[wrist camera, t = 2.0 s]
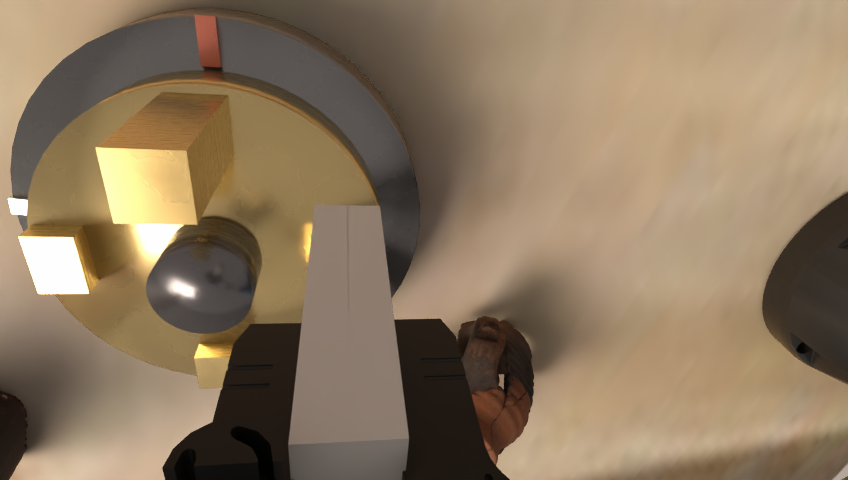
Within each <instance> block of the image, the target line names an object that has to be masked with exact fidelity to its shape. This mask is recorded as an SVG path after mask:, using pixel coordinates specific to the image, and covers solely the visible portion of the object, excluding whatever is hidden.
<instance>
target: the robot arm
mask: <svg viewBox="0 0 848 480" xmlns="http://www.w3.org/2000/svg"><path fill="white" fill-rule="evenodd" d="M762 309H763V317H764V321H765V324H766V326H767V328H768V330H769V331H770V333H771V334H772V335H773V336H774V337H775V338H776V339H777V340H778V341H779V342H780V343H781V344H782V345H783V346H784V347H785V348H786V349H787V350H788V351H789V352H791V353H792V354H793V355H794V356H795V357H796V358H798V359H799V360H800V361H802V362H803V363H805V364H807V365H809V366H811V367H813V368H815V369H817V370H819V371H821V372H823V373H825V374H827V375H829V376H831V377H833V378H835V379H837V380H839V381H841V382H843V383H845V384H848V194H846V195H845V196H843V197H841V198H840V199H838V200H837V201H835V202H834V203H832V204H831V205H829V206H828V207H827V208H825V209H824V210H823V211H821V212H820V213H819V214H818V215H817V216H815V217H814V218H813V219H812V220H811V221H810V222H809V223H808V224H807V225H805V226H804V227H803V228H802V229H801V230H800V232H799V233H798V234H797V235H796V236H795V237H794V238H793V239H792V240H791V242H790V243H789V244H788V245H787V247H786V248H785V249H784V251H783V252H782V254H781V255H780V257H779V258H778V260H777V262H776V263H775V265H774V267H773V269H772V271H771V273H770V275H769V278H768V280H767V283H766V287H765V290H764V295H763V303H762ZM163 472H164V476H165V480H510V479H509V478H507V477H506V476H505V475H504V474H503V473H502V472H501V471H500V470H499V469H498V468H497V467H496V465H495V464H494V462H493V461H492V460H491V458H490V456H489V454H488V451H487V449H486V446H485V443H484V439H483V435H482V432H481V428H480V424H479V421H478V417H477V413H476V410H475V406H474V402H473V399H472V395H471V391H470V388H469V384H468V380H467V379H466V373H465V369H464V365H463V362H461V354H460V351H459V347H458V343H457V340H456V336H455V335H454V334H453V333H452V332H451V331H450V329H449V328H448V327H447V326H446V325H445V324H444V323H443V321H442V320H441V319H404V320H394V314H393V306H392V299H391V291H390V283H389V275H388V267H387V259H386V251H385V243H384V235H383V227H382V219H381V211H380V206H362V205H315V206H314V215H313V224H312V234H311V243H310V252H309V261H308V270H307V279H306V288H305V297H304V306H303V315H302V323H272V324H250V325H249V326H248V327H247V329H246V330H245V331H244V332H243V333H242V334H241V335H240V337H239V338H238V339H237V340H236V341H235V342H234V344H233V348H232V351H231V355H230V359H229V363H228V370H226V374H225V377H224V381H223V388H222V390H221V392H220V396H219V400H218V404H217V407H216V411H215V415H214V418H213V422H212V423H210V424H208V425H206V426H204V427H202V428H200V429H198V430H196V431H194V432H191V433H190V434H189V435H188V436H187V437H186V438H185V439H183V440H182V441H181V442H180V443H179V444H178V445H177V446H176V447H175V448H173V450H172V452H171V454H170V455H169V457H168V459H167V461H166V462H165V464H164V466H163ZM842 480H848V476H847V477H846V478H844V479H842Z"/></svg>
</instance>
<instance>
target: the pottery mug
mask: <svg viewBox="0 0 848 480" xmlns="http://www.w3.org/2000/svg"><path fill="white" fill-rule="evenodd" d="M457 343H458V347H459V351H460V354H461V362H463V365H464V369H465V373H466V379H467V380H468V384H469V388H470V391H471V395H472V399H473V402H474V406H475V410H476V413H477V417H478V421H479V424H480V428H481V432H482V435H483V439H484V443H485V446H486V449H487V451H488V454H489V456H490V458H491V460H492V461H493V462H494V464H495V465H496V463H497V460H498V455H499V454H501V453H502V451H503V450H504V448H505V447H507V446H508V445H509V444H511V443H513V442H514V441H515V440H516V439H517V438H518V437H519V436H520V435H521V434H522V432H523V430H524V427H525V426H526V424H527V422H528V414H529V412H530V408H531V406H532V402H533V399H532V397H533V393H534V390H533V386H534V382H533V379H534V374H533V369H532V363H531V358H532V354H531V350H530V347H529V344H528V343H527V341H526V340H525V338H524V337H523V336H522V334H521V333H520V332H519V331H518V330H516V329H514V328H513V327H512V326H511V325H509V324H508V323H506V322H504V321H500V322H499V321H498V320H497V319H496V318H491V317H487V316H483V317H481V318H478V319H477V320H476V321H470V322H466V323H463V324H462V325H461V329H460V330H459V332H458V339H457ZM498 374H504V390H503V389H502V388H501V387H500V386H498V384H499V375H498Z"/></svg>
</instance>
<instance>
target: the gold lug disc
mask: <svg viewBox="0 0 848 480" xmlns="http://www.w3.org/2000/svg"><path fill="white" fill-rule="evenodd" d="M315 205H362V206H380V204H379V198H378V193H377V190H376V187H375V184H374V181H373V178H372V176H371V174H370V171H369V169H368V167H367V165H366V163H365V161H364V159H363V158H362V156H361V155H360V153H359V152H358V150H357V149H356V147H355V146H354V144H353V143H352V142H351V141H350V139H349V138H348V137H347V136H346V135H345V134H344V133H343V131H342V130H341V129H340V128H339V127H338V126H337V125H336V124H335V123H334V122H333V121H331V120H330V119H329V118H328V117H327V116H326V115H325V114H324V113H322V112H321V111H320V110H318V109H317V108H315V107H314V106H312V105H311V104H310V103H308V102H307V101H305V100H304V99H302V98H300V97H298V96H297V95H295V94H293V93H291V92H289V91H287V90H285V89H283V88H281V87H279V86H276V85H273V84H271V83H268V82H265V81H263V80H260V79H257V78H253V77H249V76H245V75H241V74H237V73H230V72H222V71H213V70H185V71H178V72H170V73H163V74H159V75H156V76H152V77H149V78H145V79H142V80H139V81H137V82H135V83H132V84H130V85H128V86H126V87H124V88H121V89H119V90H118V91H116V92H115V93H113V94H112V95H110V96H109V97H107V98H106V99H104V100H103V101H101V102H100V103H98V104H97V105H95V106H94V107H92V108H91V109H89V110H88V111H86V112H85V113H83V114H82V115H80V116H79V117H77V118H76V119H74V120H73V121H72V122H71V123H70V124H69V125H68V126H66V127H65V128H64V129H63V130H62V131H61V132H60V133H59V134H58V135H57V136H56V137H55V138H54V140H53V141H52V143H51V144H50V145H49V147H48V148H47V149H46V151H45V152H44V153H43V155H42V157H41V159H40V161H39V163H38V165H37V167H36V169H35V171H34V174H33V178H32V181H31V185H30V188H29V192H28V202H27V225H28V228H27V229H26V230H25V231H24V232H23V233H22V234H21V235H20V236H19V240H20V243H21V246H22V249H23V251H24V254H25V257H26V260H27V263H28V266H29V269H30V272H31V274H32V277H33V280H34V283H35V286H36V289H37V292H38V294H55V295H56V296H57V297H58V299H59V300H60V301H61V303H62V304H63V305H64V306H65V308H66V309H67V310H68V311H69V312H70V313H71V314H72V315H73V316H74V317H75V318H76V319H77V320H78V321H79V322H80V323H82V324H83V325H84V326H85V327H87V328H88V329H89V330H90V331H92V332H93V333H94V334H95V335H97V336H98V337H100V338H101V339H103V340H104V341H106V342H107V343H109V344H111V345H112V346H114V347H115V348H117V349H119V350H121V351H123V352H125V353H127V354H129V355H131V356H133V357H135V358H137V359H140V360H142V361H145V362H147V363H150V364H152V365H155V366H159V367H162V368H166V369H169V370H172V371H177V372H182V373H187V374H191V375H197V377H198V383H199V388H223V381H224V377H225V374H226V370H228V363H229V359H230V355H231V351H232V348H233V344H234V342H235V341H236V340H237V339H238V338H239V337H240V335H241V334H242V333H243V332H244V331H245V330H246V329H247V327H248V326H249V325H250V324H272V323H302V315H303V306H304V297H305V288H306V279H307V270H308V261H309V252H310V243H311V234H312V224H313V215H314V206H315ZM380 211H381V209H380ZM201 219H218V220H223V221H226V222H230V223H232V224H234V225H236V226H238V227H240V228H242V229H243V230H244V231H246V232H247V233H248V234H249V235H250V236H251V237H252V238H253V239H254V240H255V242H256V243H257V245H258V247H259V249H260V252H261V256H262V267H261V271H260V275H259V279H258V283H257V286H256V290H255V294H254V298H253V302H252V305H251V308H250V311H249V313H248V314H247V316H246V317H245V318H244V319H243V320H242V321H241V322H240V323H239V324H238V325H236V326H234V327H233V328H231V329H228V330H226V331H222V332H218V333H212V334H199V333H192V332H188V331H184V330H181V329H179V328H176V327H174V326H172V325H171V324H169V323H167V322H166V321H164V320H163V319H162V318H161V317H160V316H159V315H158V314H157V313H156V312H155V311H154V310H153V308H152V307H151V305H150V303H149V301H148V298H147V294H146V283H147V279H148V276H149V274H150V272H151V270H152V269H153V267H154V265H155V264H156V262H157V260H158V259H159V257H160V255H161V253H162V252H163V250H164V248H165V247H166V245H167V243H168V242H169V240H170V238H171V237H172V235H173V234H174V233H175V232H176V231H177V230H178V229H179V228H180V227H182V226H183V225H185V224H186V225H198V223H199V221H200V220H201ZM381 219H382V217H381ZM382 227H383V226H382Z"/></svg>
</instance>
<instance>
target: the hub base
mask: <svg viewBox="0 0 848 480" xmlns="http://www.w3.org/2000/svg"><path fill="white" fill-rule="evenodd" d="M185 70H213V71H222V72H230V73H237V74H241V75H245V76H249V77H253V78H257V79H260V80H263V81H265V82H268V83H271V84H273V85H276V86H279V87H281V88H283V89H285V90H287V91H289V92H291V93H293V94H295V95H297V96H298V97H300V98H302V99H304V100H305V101H307V102H308V103H310V104H311V105H312V106H314V107H315V108H317V109H318V110H320V111H321V112H322V113H324V114H325V115H326V116H327V117H328V118H329V119H330V120H331V121H333V122H334V123H335V124H336V125H337V126H338V127H339V128H340V129H341V130H342V131H343V133H344V134H345V135H346V136H347V137H348V138H349V139H350V141H351V142H352V143H353V144H354V146H355V147H356V149H357V150H358V152H359V153H360V155H361V156H362V158H363V159H364V161H365V163H366V165H367V167H368V169H369V171H370V174H371V176H372V178H373V181H374V184H375V187H376V190H377V193H378V198H379V204H380V209H381V217H382V226H383V235H384V243H385V251H386V259H387V267H388V275H389V283H390V291H391V298H392V297H393V295H394V294H395V292H396V291H397V289H398V288H399V286H400V285H401V283H402V281H403V279H404V277H405V275H406V273H407V271H408V269H409V267H410V264H411V261H412V258H413V254H414V251H415V248H416V244H417V237H418V231H419V215H420V204H419V196H418V189H417V182H416V178H415V174H414V171H413V167H412V163H411V160H410V156H409V152H408V149H407V145H406V142H405V139H404V136H403V134H402V132H401V130H400V127H399V125H398V123H397V120H396V118H395V117H394V115H393V113H392V112H391V110H390V108H389V107H388V105H387V103H386V102H385V100H384V98H383V97H382V96H381V95H380V93H379V92H378V91H377V90H376V88H375V87H374V86H373V85H372V83H371V82H370V81H369V80H368V79H367V78H366V77H365V76H364V75H363V74H362V73H361V72H360V71H359V70H358V69H357V68H356V67H355V66H354V65H353V64H352V63H351V62H350V61H349V60H347V59H346V58H345V57H343V56H342V55H341V54H339V53H338V52H337V51H335V50H334V49H333V48H331V47H330V46H329V45H327V44H326V43H324V42H322V41H320V40H319V39H317V38H315V37H313V36H312V35H310V34H308V33H306V32H305V31H302V30H300V29H298V28H295V27H293V26H290V25H288V24H286V23H283V22H281V21H278V20H275V19H271V18H268V17H264V16H260V15H257V14H253V13H249V12H242V11H235V10H227V9H187V10H180V11H172V12H165V13H162V14H158V15H155V16H152V17H148V18H145V19H141V20H138V21H136V22H133V23H131V24H128V25H126V26H124V27H121V28H119V29H116V30H114V31H112V32H110V33H107V34H105V35H103V36H101V37H99V38H97V39H95V40H92V41H90V42H88V43H86V44H85V45H83V46H82V47H81V48H79V49H78V50H76V51H75V52H73V53H72V54H70V55H69V56H67V57H66V58H65V59H63V60H62V61H61V62H60V63H59V64H58V65H57V66H56V67H55V68H54V69H53V70H52V71H51V72H50V73H49V74H48V75H47V76H46V77H45V78H44V79H43V81H42V82H41V84H40V85H39V86H38V88H37V89H36V91H35V92H34V94H33V95H32V96H31V98H30V99H29V101H28V103H27V105H26V108H25V110H24V112H23V114H22V116H21V119H20V121H19V123H18V127H17V131H16V135H15V139H14V143H13V147H12V159H11V181H12V192H13V197H11V196H10V197H9V198H8V201H9V205H10V210H11V214H18V218H19V221H20V224H21V226H22V228H23V231H25V230H26V229H27V228H28V225H27V202H28V192H29V188H30V185H31V181H32V178H33V174H34V171H35V169H36V167H37V165H38V163H39V161H40V159H41V157H42V155H43V153H44V152H45V151H46V149H47V148H48V147H49V145H50V144H51V143H52V141H53V140H54V138H55V137H56V136H57V135H58V134H59V133H60V132H61V131H62V130H63V129H64V128H65V127H66V126H68V125H69V124H70V123H71V122H72V121H73V120H74V119H76V118H77V117H79V116H80V115H82V114H83V113H85V112H86V111H88V110H89V109H91V108H92V107H94V106H95V105H97V104H98V103H100V102H101V101H103V100H104V99H106V98H107V97H109V96H110V95H112V94H113V93H115V92H116V91H118V90H119V89H121V88H124V87H126V86H128V85H130V84H132V83H135V82H137V81H139V80H142V79H145V78H149V77H152V76H156V75H159V74H163V73H170V72H178V71H185ZM261 267H262V256H261V252H260V249H259V247H258V245H257V243H256V242H255V240H254V239H253V238H252V237H251V236H250V235H249V234H248V233H247V232H246V231H244V230H243V229H242V228H240V227H238V226H236V225H234V224H232V223H230V222H226V221H223V220H218V219H201V220H200V221H199V223H198V225H186V224H185V225H183V226H182V227H180V228H179V229H178V230H177V231H176V232H175V233H174V234H173V235H172V237H171V238H170V240H169V242H168V243H167V245H166V247H165V248H164V250H163V252H162V253H161V255H160V257H159V259H158V260H157V262H156V264H155V265H154V267H153V269H152V270H151V272H150V274H149V276H148V279H147V283H146V294H147V298H148V301H149V303H150V305H151V307H152V308H153V310H154V311H155V312H156V313H157V314H158V315H159V316H160V317H161V318H162V319H163V320H164V321H166V322H167V323H169V324H171V325H172V326H174V327H176V328H179V329H181V330H184V331H188V332H192V333H199V334H212V333H218V332H222V331H226V330H228V329H231V328H233V327H234V326H236V325H238V324H239V323H240V322H241V321H242V320H243V319H244V318H245V317H246V316H247V314H248V313H249V311H250V308H251V305H252V302H253V298H254V294H255V290H256V286H257V283H258V279H259V275H260V271H261Z"/></svg>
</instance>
